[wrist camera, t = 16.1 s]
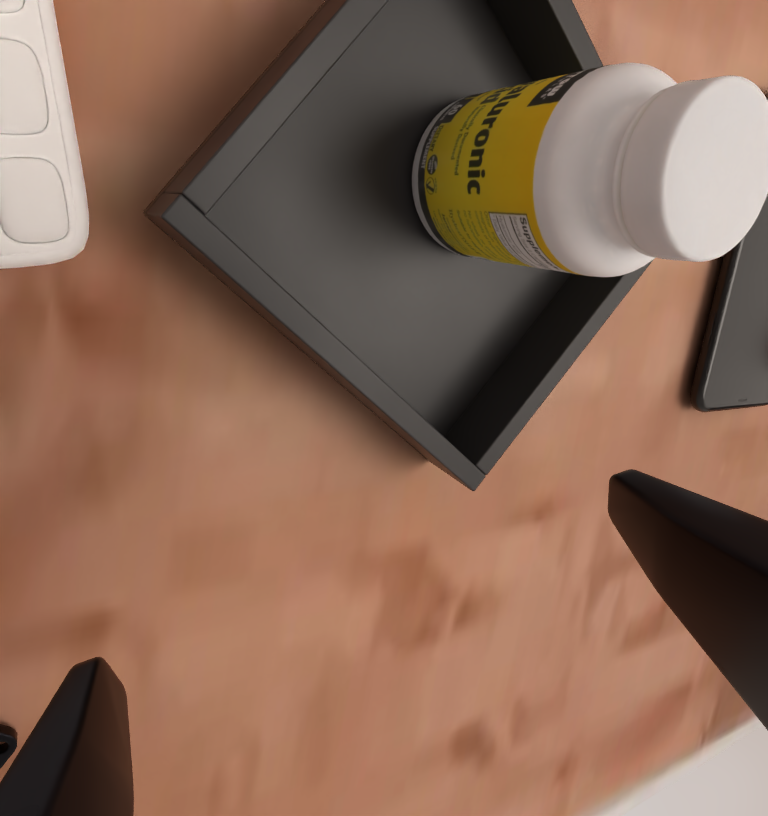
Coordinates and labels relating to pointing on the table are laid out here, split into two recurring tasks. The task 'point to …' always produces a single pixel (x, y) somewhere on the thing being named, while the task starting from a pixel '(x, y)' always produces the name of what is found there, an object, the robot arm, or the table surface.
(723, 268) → the smartphone
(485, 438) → the black tray
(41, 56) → the calculator
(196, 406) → the table surface
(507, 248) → the supplement bottle
